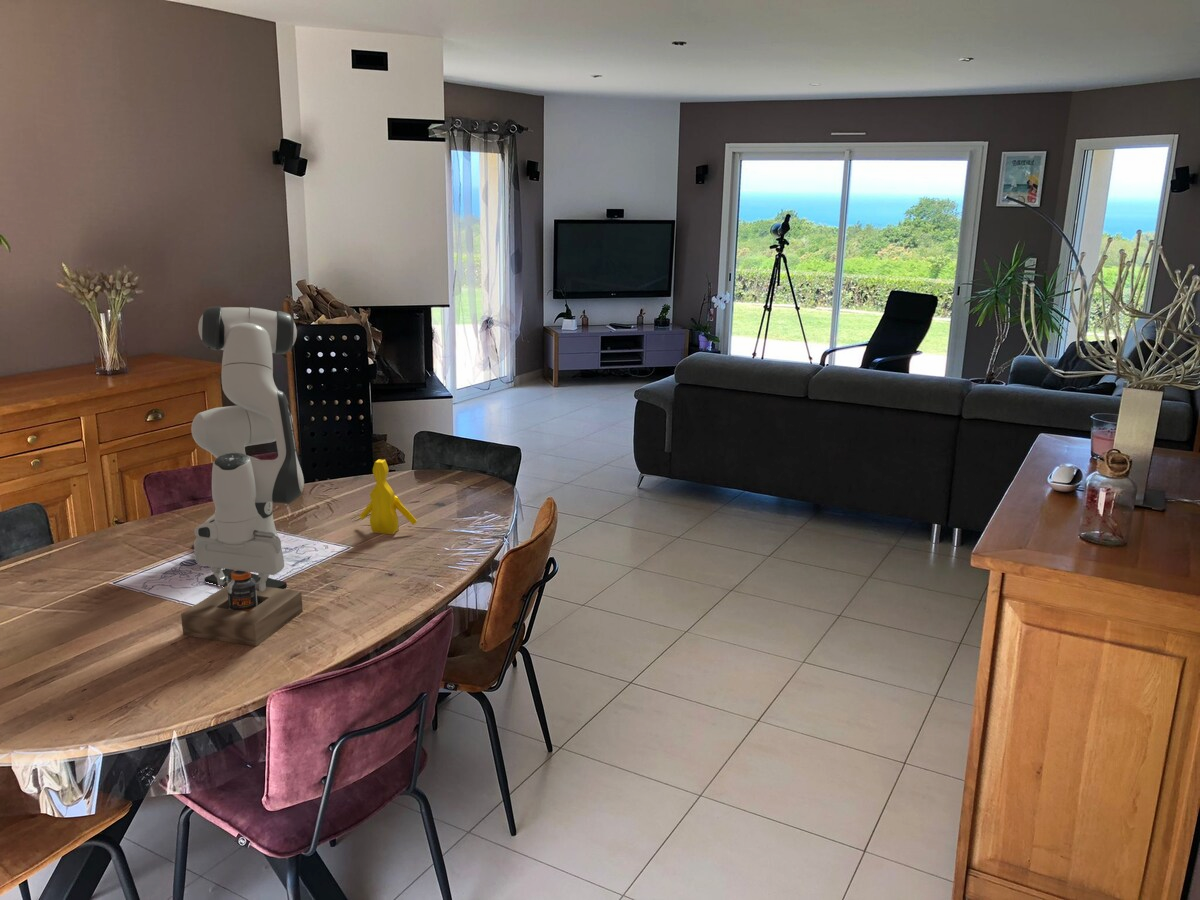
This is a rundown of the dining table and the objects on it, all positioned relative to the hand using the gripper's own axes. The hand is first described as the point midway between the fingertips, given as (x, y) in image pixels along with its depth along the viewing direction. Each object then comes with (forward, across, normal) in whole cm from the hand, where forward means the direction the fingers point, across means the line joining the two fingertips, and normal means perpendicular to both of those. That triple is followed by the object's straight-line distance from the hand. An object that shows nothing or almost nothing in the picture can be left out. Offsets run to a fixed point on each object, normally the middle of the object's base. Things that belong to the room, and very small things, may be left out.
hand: (241, 587), depth 203 cm
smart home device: (+9, +12, -19) cm, 24 cm away
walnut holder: (+9, 0, 0) cm, 9 cm away
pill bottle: (+8, 0, 0) cm, 8 cm away
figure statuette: (+9, -3, -63) cm, 64 cm away
